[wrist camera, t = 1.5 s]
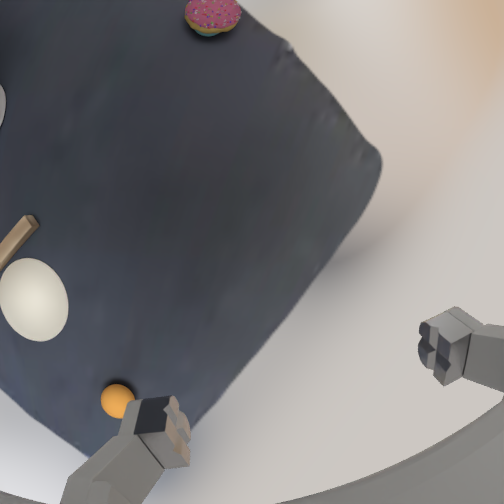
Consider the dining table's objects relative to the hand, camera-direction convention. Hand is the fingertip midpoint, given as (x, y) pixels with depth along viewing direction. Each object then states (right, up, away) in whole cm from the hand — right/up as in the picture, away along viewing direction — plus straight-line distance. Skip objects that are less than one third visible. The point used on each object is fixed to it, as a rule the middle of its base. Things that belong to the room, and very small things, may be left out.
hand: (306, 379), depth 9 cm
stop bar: (-40, +3, +26) cm, 48 cm away
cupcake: (-9, +40, +31) cm, 51 cm away
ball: (-22, -19, +31) cm, 43 cm away
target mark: (-35, -3, +28) cm, 45 cm away
